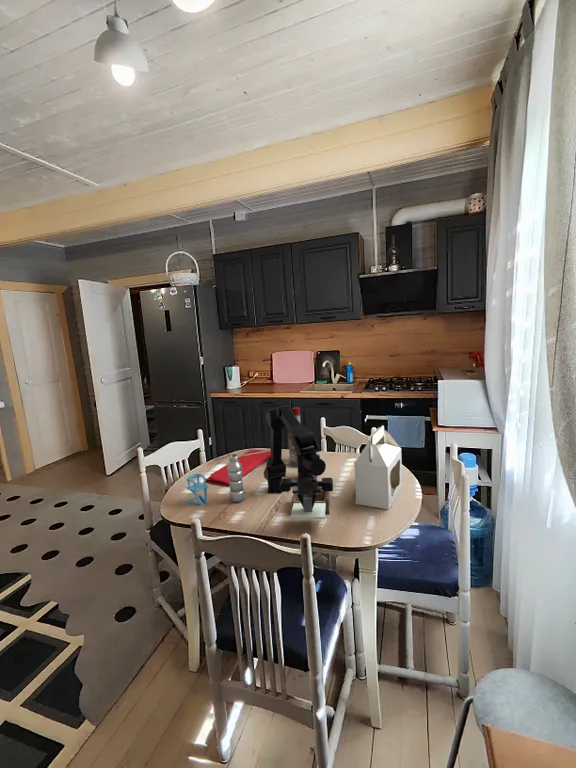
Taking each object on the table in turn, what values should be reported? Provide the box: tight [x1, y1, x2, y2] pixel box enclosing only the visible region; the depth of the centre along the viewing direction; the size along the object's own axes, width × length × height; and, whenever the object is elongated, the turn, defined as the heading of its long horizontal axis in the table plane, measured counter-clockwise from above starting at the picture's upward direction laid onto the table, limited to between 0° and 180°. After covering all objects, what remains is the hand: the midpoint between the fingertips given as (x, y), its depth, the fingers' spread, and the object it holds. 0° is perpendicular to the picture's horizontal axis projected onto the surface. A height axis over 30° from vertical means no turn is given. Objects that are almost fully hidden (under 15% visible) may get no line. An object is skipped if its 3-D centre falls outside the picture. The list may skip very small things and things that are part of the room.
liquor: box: [287, 406, 302, 468], centre depth 194 cm, size 9×9×30 cm
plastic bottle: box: [227, 453, 246, 503], centre depth 160 cm, size 6×7×20 cm
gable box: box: [353, 424, 403, 510], centre depth 155 cm, size 22×13×28 cm, turn 151°
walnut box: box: [291, 488, 331, 515], centre depth 151 cm, size 14×11×6 cm
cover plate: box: [289, 498, 326, 520], centre depth 137 cm, size 12×10×5 cm
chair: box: [185, 473, 209, 507], centre depth 162 cm, size 8×8×12 cm
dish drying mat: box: [206, 449, 270, 488], centre depth 197 cm, size 16×41×4 cm, turn 152°
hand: (308, 506), depth 137 cm, fingers closed on cover plate, 3 cm apart
